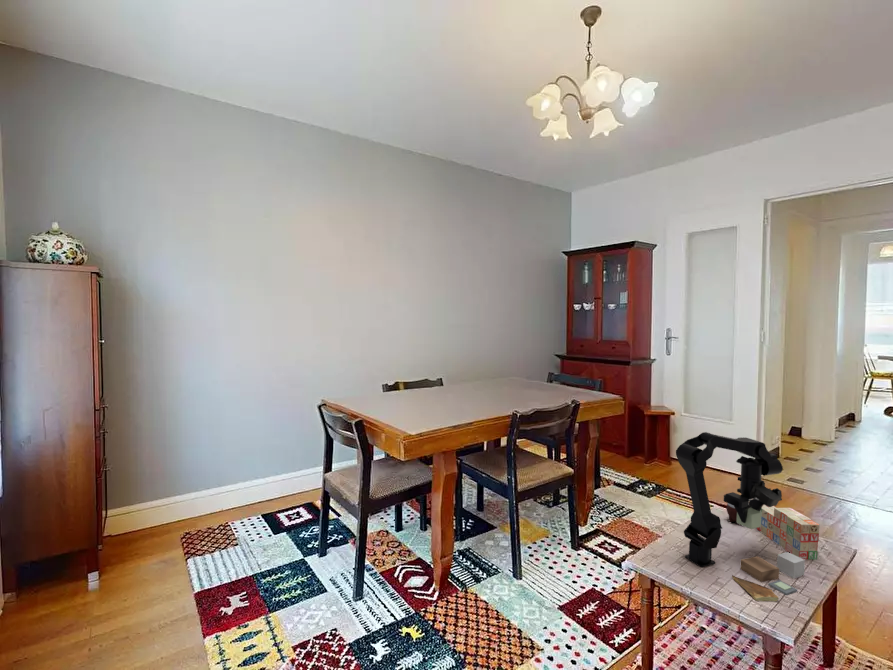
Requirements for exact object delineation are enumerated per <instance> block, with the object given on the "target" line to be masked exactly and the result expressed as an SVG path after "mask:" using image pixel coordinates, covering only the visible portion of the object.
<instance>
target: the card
mask: <svg viewBox="0 0 893 670" xmlns="http://www.w3.org/2000/svg"><path fill="white" fill-rule="evenodd" d="M768 586H769V587H770V588H772V589H774V590H776V591H778V592H780V593H781V594H783V595H784V596H788V595H791V594H794V593H797V592H798V589H797V588H795V587H793V586H792V585H790V584H788V583H786V582H785V581H782V580H781V579H776V580H773V581H772V582H769V583H768Z"/></svg>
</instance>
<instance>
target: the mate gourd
mask: <svg viewBox="0 0 893 670" xmlns="http://www.w3.org/2000/svg"><path fill="white" fill-rule="evenodd" d="M726 512H727V514H728V518H729V520H728V523H729V522H737V511H736V509H735V507H734V505H731V504H729V503H727V505H726Z"/></svg>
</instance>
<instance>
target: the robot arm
mask: <svg viewBox="0 0 893 670" xmlns="http://www.w3.org/2000/svg"><path fill="white" fill-rule="evenodd" d="M704 445H705V448H703V449H701V448H699V447H702V446H704ZM716 448H719V449H725V450H728V451H734V452H737V453H740V454H742V455H741V457H739V458H738V459H737V460H736V461H735V462H736V463H738V464H740V467H741V468H740V476H737V481H739V482H740V483H739V484H740V485H739V488H737V489H736V492H737V493H736V492H733V491H732V492H728V493H727V492H726V493H725V494H724V495H723V502H724V503H729V504H731V505H734V507H735V509H736V511H737V513H738V515H739V517H740V519H741V521H742V522H743V523H746V519H747V513H748V509H749V508H753V509H755V510H757V511H760V510H761V508H762V506H763V505H766V506H767V507H772V506H774V507H776V506H778V504H779V502H781V501H783V498H782V497H783V496H782V495H783V494H782V490H781V489H779V488H777V487H776V488H773V489H772V488H768V487H767V486H766V482H765V481H764V480H762V476H772V475H779V474H781V473H782V472H783V468H784V467H783V465H782V462H781V461H780V460H779V459H778V455H777V454H774V453H770V452H769V450H768V449H767V447H766V444H765V443H764V442H762V441H759V440H756V439H752V438H749V437H737V438H732V437H727V436H723V435H718V434H713V433H710V432H707V431H704V432H700V434H699V435H697V436H695V437H691V438H689V439H687V440H685V441H684V442H682V443H681V444H680V445H679V446H678V447H677V448H676V450H675V456H676V459H677V461H678V463H679V466H681V468H682V469H683V471H684V472H685V474H686V479H687V485H688V488H689V492H690V493H689V494H690V500H691V504H692V508H693V512H692V514H691V516H690V522H689V524H688V525H687V527H686V528H685V529H684V530H683V534H684V537H685V538H687V539H689V544H688V545H689V547H688V553H687V554H685V555H684V558H686V559H687V560H689V561H690V562H692V563H693V564H696V566H699V567H700V568H703V567H707V566H711V565H714V564H716V561H715V560H713V559H712V552H713V549H716V548H718V545H719V543H720V539H721V535H722V529H723V527H722V523H721V519H720V516H718V515H716V514H715V513H713V512H712V510H711V506H710V500H709V496H708V495H709V494H708V490H707V485H706V480H705V475H704V471H705V469H706V468H707V461H708V460H710V459H711V458H712V457H713V456H714V455H713V454H714V450H715V449H716ZM743 455H744V456H743ZM746 456H748V457H746Z"/></svg>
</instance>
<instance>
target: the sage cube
mask: <svg viewBox="0 0 893 670" xmlns="http://www.w3.org/2000/svg"><path fill="white" fill-rule="evenodd" d="M761 517H762V512H760V511H757V510H755V509H753V508H749V509H748V513H747V519H746V523H743V522H742V521H741V519H740V517H739V515H738V513H737V523H736V524H738V525H739V524H740V526H741V525H743V526H742V527H745V528H747V529H749V530H755V529H756V528H758V527H761Z"/></svg>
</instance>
